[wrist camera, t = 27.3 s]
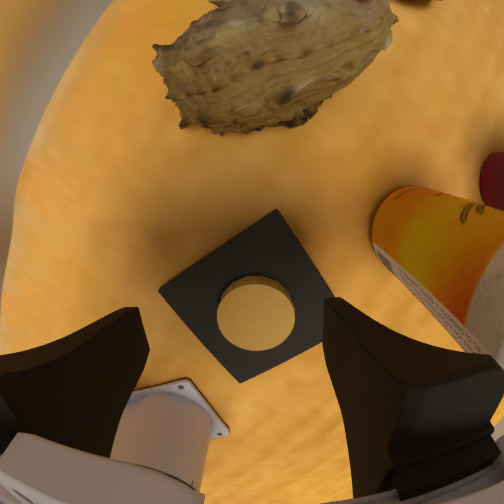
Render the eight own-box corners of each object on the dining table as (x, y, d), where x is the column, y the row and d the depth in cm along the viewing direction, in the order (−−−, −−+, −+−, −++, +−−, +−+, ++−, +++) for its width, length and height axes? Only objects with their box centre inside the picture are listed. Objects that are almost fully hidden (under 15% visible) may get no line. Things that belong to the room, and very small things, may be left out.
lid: (294, 273, 20) (296, 282, 18) (293, 339, 21) (294, 350, 20) (216, 275, 20) (212, 284, 19) (222, 340, 22) (220, 351, 20)
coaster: (240, 379, 23) (239, 383, 23) (159, 287, 21) (157, 291, 21) (349, 321, 21) (351, 325, 21) (276, 208, 19) (277, 210, 19)
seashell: (381, 29, 16) (446, -43, 6) (288, 190, 18) (326, 191, 9) (249, -33, 15) (246, -123, 5) (140, 112, 17) (52, 61, 8)
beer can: (453, 227, 19) (608, 318, 5) (401, 285, 20) (521, 432, 6) (408, 166, 18) (603, 209, 3) (350, 229, 19) (493, 377, 5)
